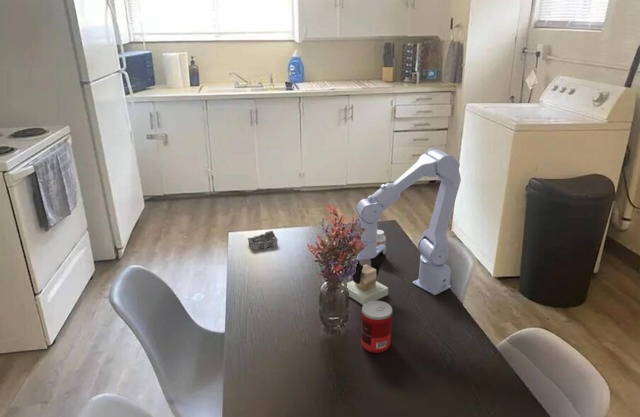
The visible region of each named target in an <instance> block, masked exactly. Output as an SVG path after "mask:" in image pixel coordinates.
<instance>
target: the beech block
mask: <svg viewBox="0 0 640 417" xmlns="http://www.w3.org/2000/svg"><path fill="white" fill-rule="evenodd" d="M362 266H364V267H363V269H362V272H361V278H360V284H357V283H355V286H357V287H358V288H360V289H362V290H363V291H367V290H370V289H372V288H374V287H376V281H377V276H376V269H374V268H372V267H371V265H369V264H366V263H365V264H364V265H362Z"/></svg>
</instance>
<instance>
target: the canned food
mask: <svg viewBox="0 0 640 417" xmlns="http://www.w3.org/2000/svg"><path fill="white" fill-rule="evenodd" d="M361 308H362V309H361V324H360V326H361V328H360V345H361V346H362V348H363V349H364V350H365V351H367V352H369V353H371V354H372V353H373V354H380V353H383V352H385V351H387V350H388V349H389V347H390V345H391V340H392V339H391V338H392V325H393V307H392V305H390V304H389V303H388V302H386V301H382V300H376V301H370V302H367V303H366V304H364V305H362V306H361Z"/></svg>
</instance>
